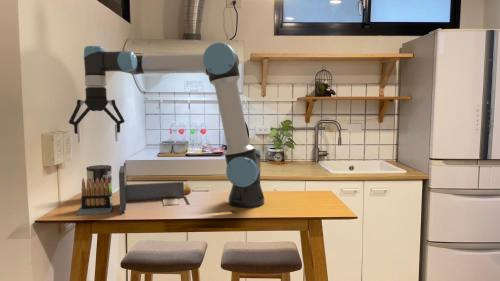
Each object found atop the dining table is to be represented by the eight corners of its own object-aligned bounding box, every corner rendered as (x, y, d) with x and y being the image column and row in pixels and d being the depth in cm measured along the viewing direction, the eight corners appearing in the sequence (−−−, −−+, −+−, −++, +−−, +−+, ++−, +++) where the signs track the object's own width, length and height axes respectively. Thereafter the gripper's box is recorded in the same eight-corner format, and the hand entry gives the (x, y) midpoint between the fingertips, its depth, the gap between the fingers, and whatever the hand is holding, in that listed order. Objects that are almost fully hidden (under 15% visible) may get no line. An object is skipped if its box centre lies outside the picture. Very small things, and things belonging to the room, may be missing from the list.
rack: (185, 199, 170) (184, 163, 168) (190, 209, 154) (189, 169, 153) (121, 203, 162) (120, 165, 161) (120, 214, 147) (118, 172, 145)
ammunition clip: (81, 208, 152) (80, 178, 151) (82, 207, 154) (81, 177, 153) (109, 207, 154) (108, 178, 152) (110, 206, 155) (109, 177, 154)
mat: (112, 203, 162) (112, 202, 162) (110, 212, 149) (110, 211, 149) (81, 205, 159) (81, 204, 159) (76, 215, 145) (76, 213, 145)
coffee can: (117, 196, 176) (116, 165, 175) (104, 201, 166) (102, 169, 165) (96, 195, 178) (95, 164, 177) (82, 200, 168) (81, 168, 167)
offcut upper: (177, 201, 165) (177, 198, 165) (179, 207, 155) (179, 204, 155) (162, 201, 163) (162, 199, 163) (163, 207, 154) (163, 204, 154)
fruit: (193, 197, 172) (187, 180, 170) (170, 205, 170) (164, 188, 168) (191, 191, 182) (186, 175, 181) (169, 199, 181) (164, 183, 179)
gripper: (129, 87, 158) (131, 139, 160) (62, 87, 151) (65, 141, 153) (129, 86, 151) (131, 141, 153) (58, 86, 144) (61, 143, 146)
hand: (98, 141), depth 153 cm, fingers open, 13 cm apart
